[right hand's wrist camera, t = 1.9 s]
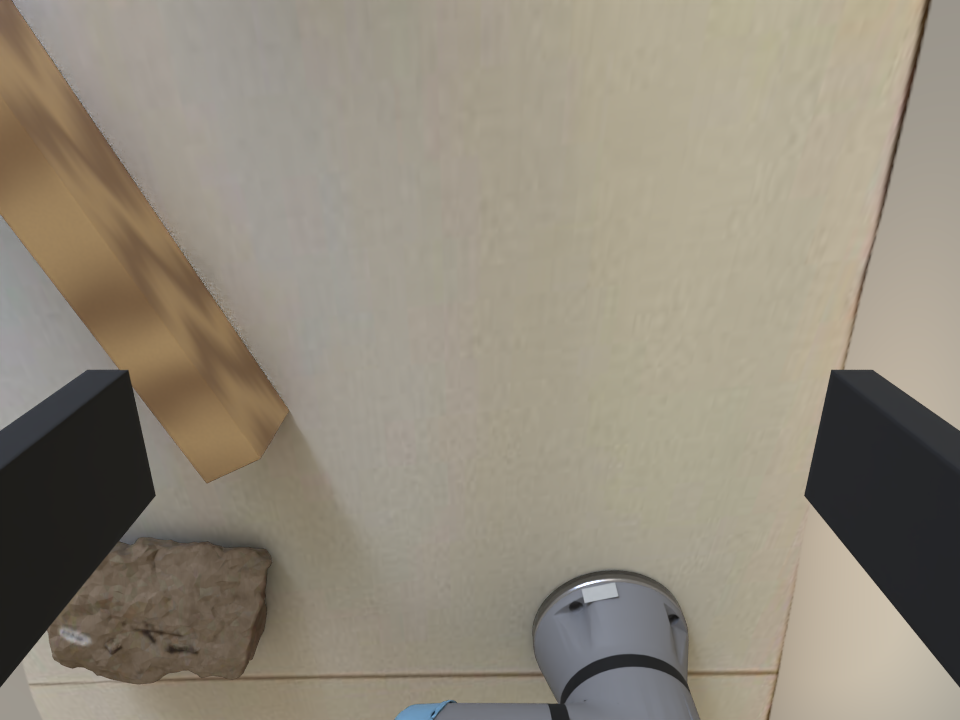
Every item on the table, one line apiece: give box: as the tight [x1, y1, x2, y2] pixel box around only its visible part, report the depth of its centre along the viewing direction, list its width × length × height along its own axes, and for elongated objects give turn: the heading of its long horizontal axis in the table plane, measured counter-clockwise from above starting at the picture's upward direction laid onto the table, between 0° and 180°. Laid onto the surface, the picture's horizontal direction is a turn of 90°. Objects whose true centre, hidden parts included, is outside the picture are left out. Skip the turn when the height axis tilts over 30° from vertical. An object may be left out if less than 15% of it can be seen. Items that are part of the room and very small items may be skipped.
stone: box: [47, 537, 272, 684], centre depth 62 cm, size 21×15×6 cm
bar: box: [0, 0, 289, 483], centre depth 45 cm, size 51×5×8 cm, turn 26°
